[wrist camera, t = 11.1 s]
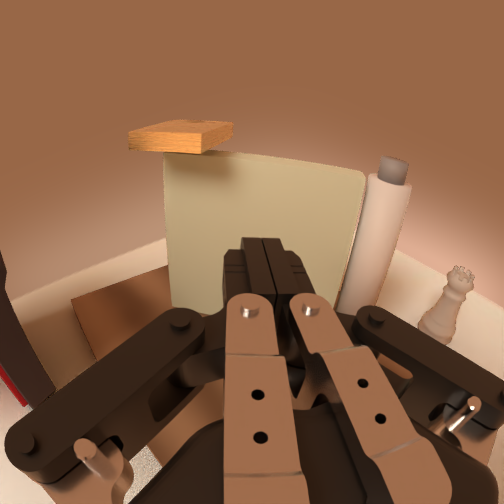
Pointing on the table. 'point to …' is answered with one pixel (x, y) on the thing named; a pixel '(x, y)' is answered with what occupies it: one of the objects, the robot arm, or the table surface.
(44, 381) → the dark brown flat block
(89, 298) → the board
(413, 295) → the table surface
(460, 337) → the table surface
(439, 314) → the rook chess piece
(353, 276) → the hinge
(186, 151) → the plate
